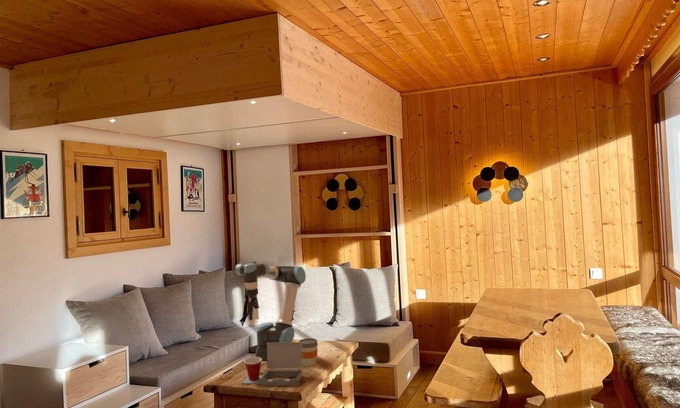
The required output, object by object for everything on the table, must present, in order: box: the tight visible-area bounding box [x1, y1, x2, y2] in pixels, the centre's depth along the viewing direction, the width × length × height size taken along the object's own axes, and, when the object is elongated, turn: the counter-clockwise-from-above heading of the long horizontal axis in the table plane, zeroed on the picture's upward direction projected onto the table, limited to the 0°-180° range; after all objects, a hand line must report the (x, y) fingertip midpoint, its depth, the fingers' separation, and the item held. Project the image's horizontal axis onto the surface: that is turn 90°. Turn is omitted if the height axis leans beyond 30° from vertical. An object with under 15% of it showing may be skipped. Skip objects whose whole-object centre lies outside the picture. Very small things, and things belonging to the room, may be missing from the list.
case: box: [260, 369, 303, 387], centre depth 321 cm, size 17×22×4 cm
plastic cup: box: [243, 356, 263, 381], centre depth 324 cm, size 11×11×12 cm
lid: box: [266, 341, 303, 371], centre depth 330 cm, size 16×22×2 cm
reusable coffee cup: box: [298, 338, 319, 367], centre depth 351 cm, size 13×13×15 cm
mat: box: [241, 375, 264, 385], centre depth 324 cm, size 12×11×1 cm
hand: (254, 321), depth 337 cm, fingers open, 13 cm apart
